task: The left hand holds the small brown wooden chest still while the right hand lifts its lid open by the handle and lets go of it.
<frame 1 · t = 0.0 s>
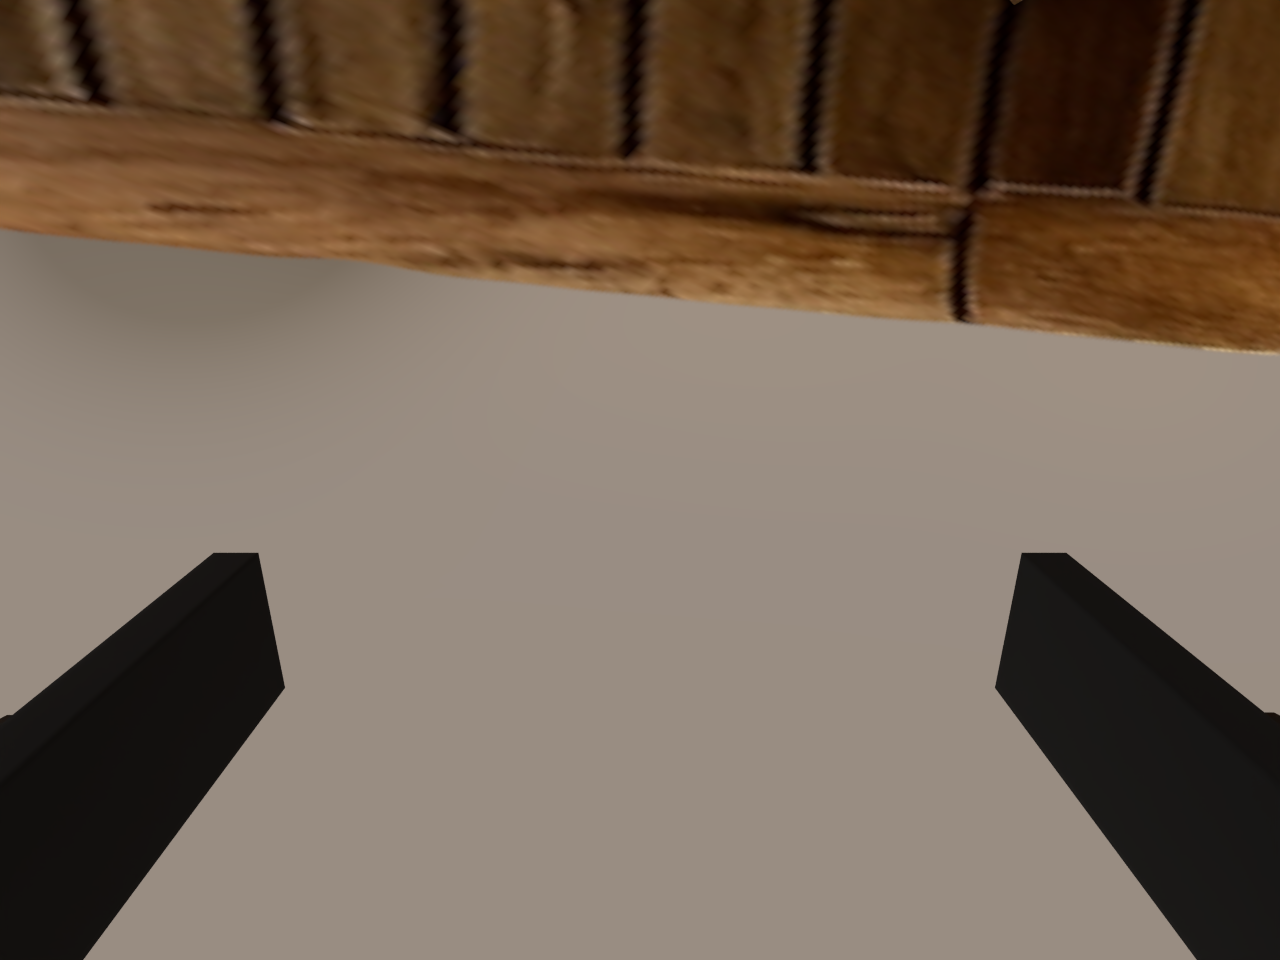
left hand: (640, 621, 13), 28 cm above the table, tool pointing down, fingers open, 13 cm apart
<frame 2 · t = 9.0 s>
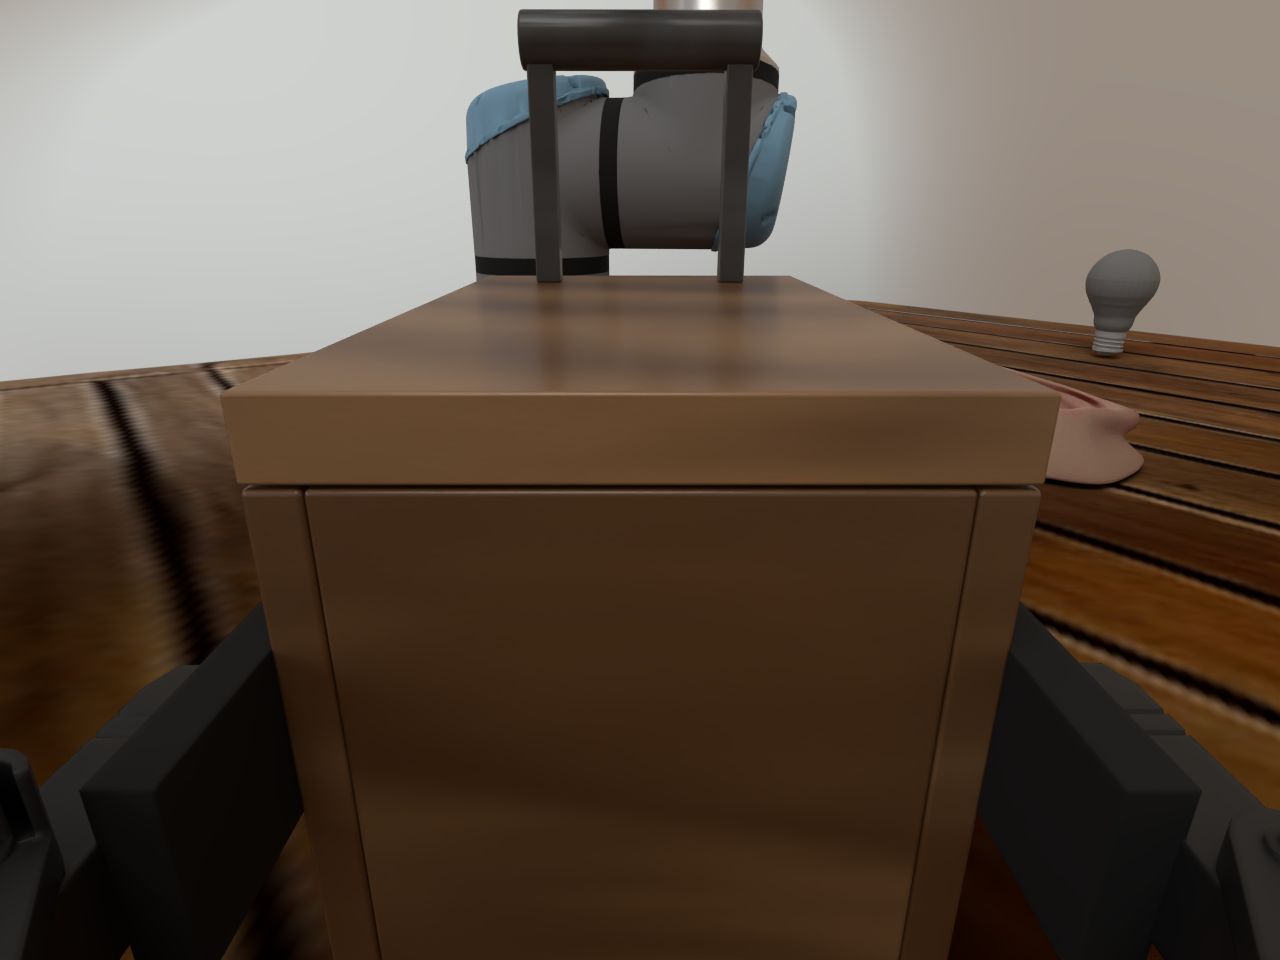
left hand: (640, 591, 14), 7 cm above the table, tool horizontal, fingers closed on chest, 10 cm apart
lid: (640, 163, 15), point 15 cm above the table, hinge at 0.0°
anatomical model: (1029, 448, 45), on the table
chest: (639, 757, 20), on the table, touching left hand
light bulb: (1105, 356, 73), on the table
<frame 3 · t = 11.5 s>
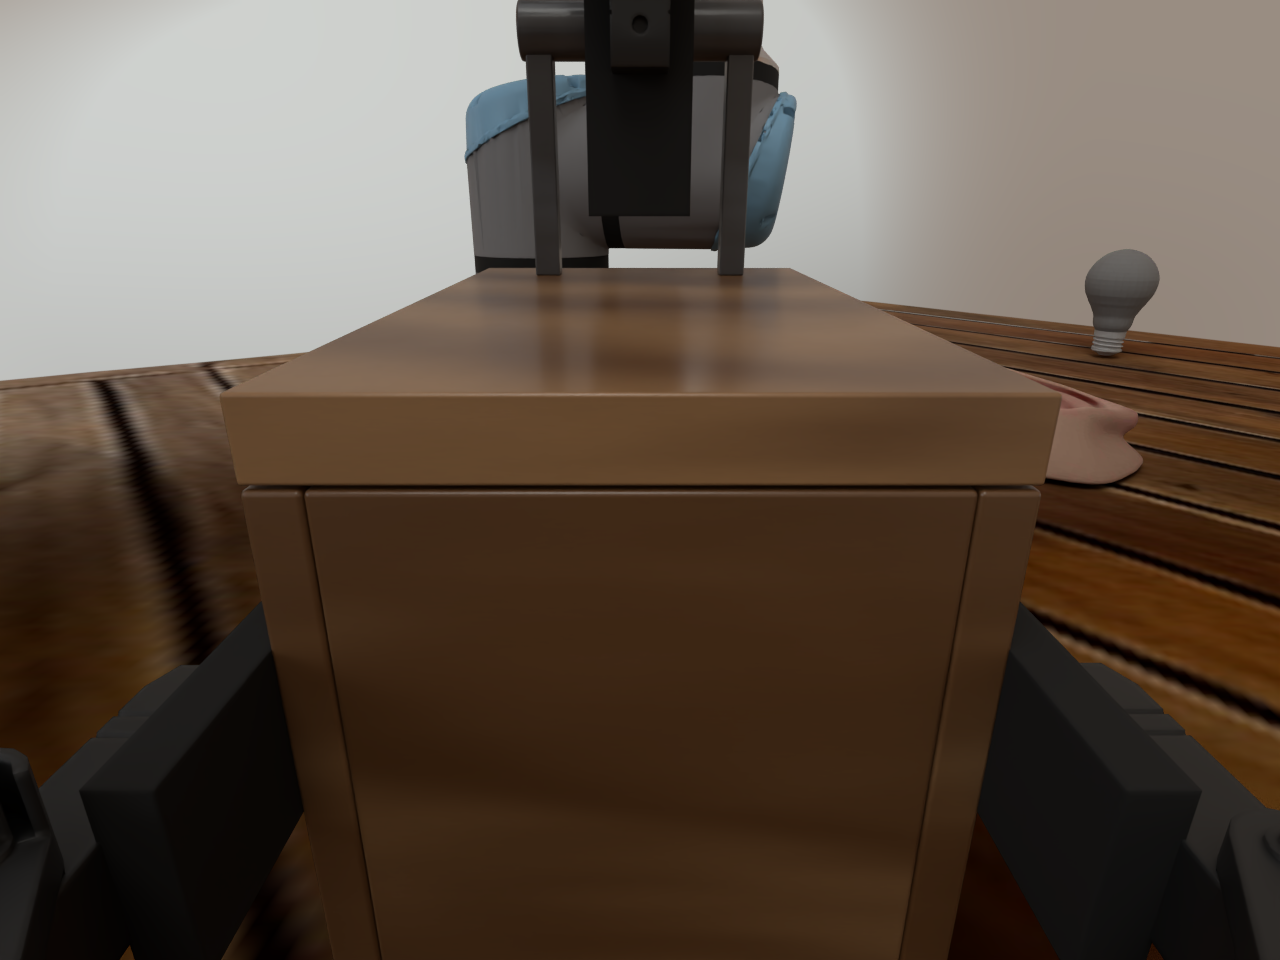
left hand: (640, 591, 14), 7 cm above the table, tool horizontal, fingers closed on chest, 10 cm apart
lid: (640, 157, 15), point 15 cm above the table, hinge at 0.8°, touching right hand
anatomical model: (1028, 448, 45), on the table
chest: (639, 757, 20), on the table, touching left hand
light bulb: (1104, 356, 73), on the table
when the left hand's fingers open (7 cm above the table, at t = 18.5 s): chest stays where it is, on the table.
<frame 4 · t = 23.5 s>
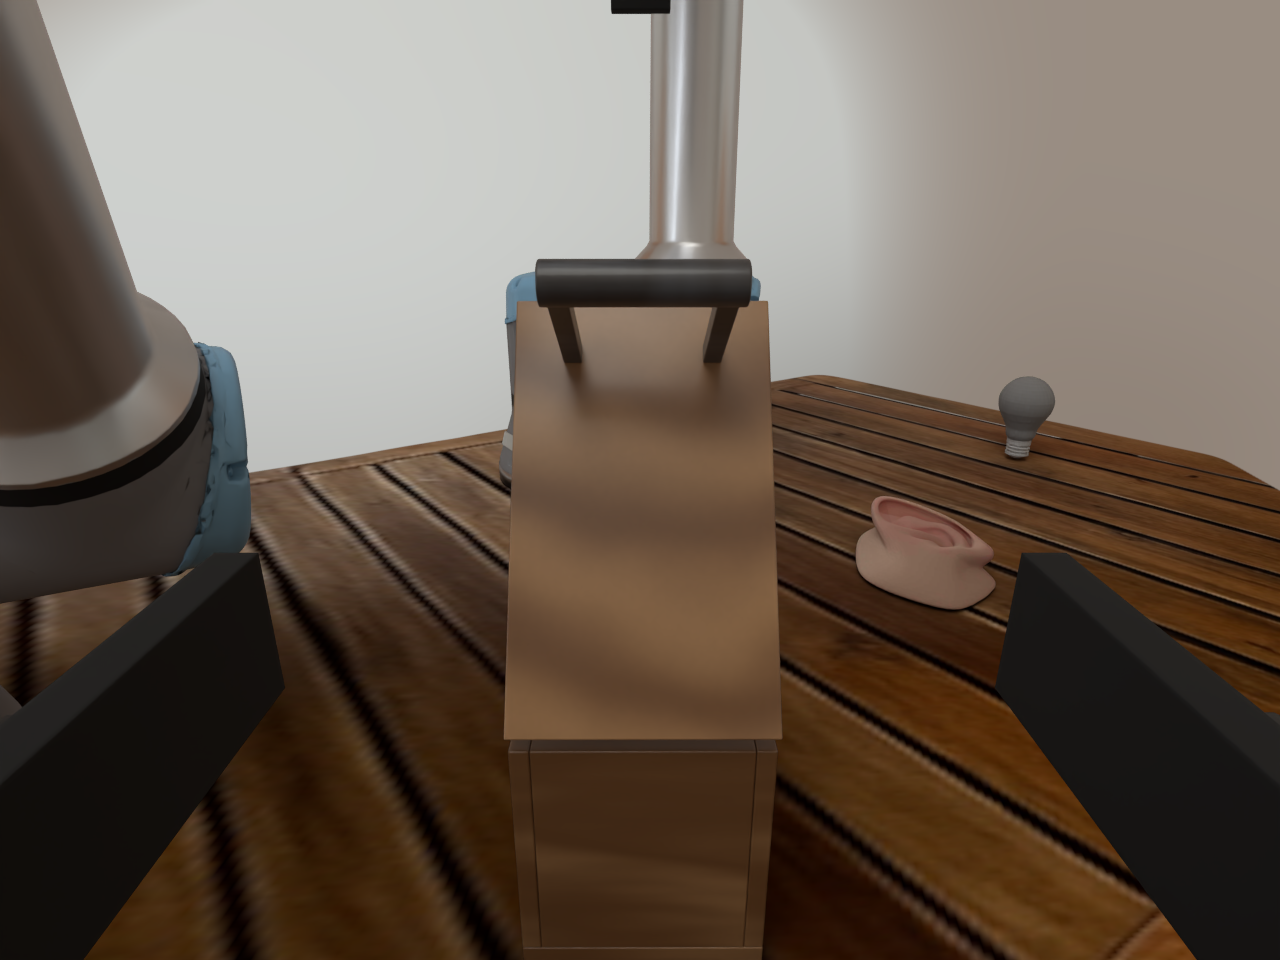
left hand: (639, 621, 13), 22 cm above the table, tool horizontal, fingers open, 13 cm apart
lid: (643, 496, 24), point 20 cm above the table, hinge at 59.8°
anatomical model: (920, 570, 63), on the table
chest: (641, 816, 37), on the table
light bulb: (1015, 458, 91), on the table
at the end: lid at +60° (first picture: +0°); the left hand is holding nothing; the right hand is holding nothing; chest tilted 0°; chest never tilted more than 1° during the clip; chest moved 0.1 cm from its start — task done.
